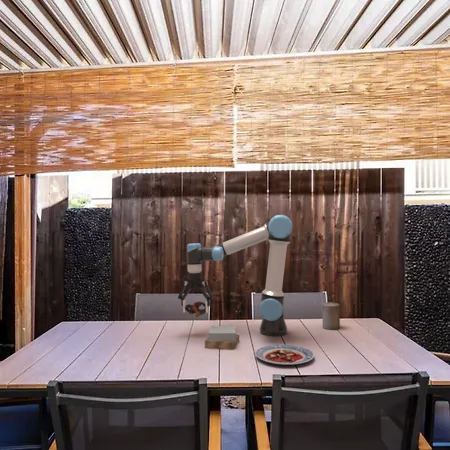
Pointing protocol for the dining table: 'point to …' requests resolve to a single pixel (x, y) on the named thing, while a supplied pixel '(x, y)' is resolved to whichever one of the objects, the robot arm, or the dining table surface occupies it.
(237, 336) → the base slab
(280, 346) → the ceramic plate
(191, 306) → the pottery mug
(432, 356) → the dining table surface
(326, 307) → the pillar candle
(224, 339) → the top slab
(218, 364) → the dining table surface
